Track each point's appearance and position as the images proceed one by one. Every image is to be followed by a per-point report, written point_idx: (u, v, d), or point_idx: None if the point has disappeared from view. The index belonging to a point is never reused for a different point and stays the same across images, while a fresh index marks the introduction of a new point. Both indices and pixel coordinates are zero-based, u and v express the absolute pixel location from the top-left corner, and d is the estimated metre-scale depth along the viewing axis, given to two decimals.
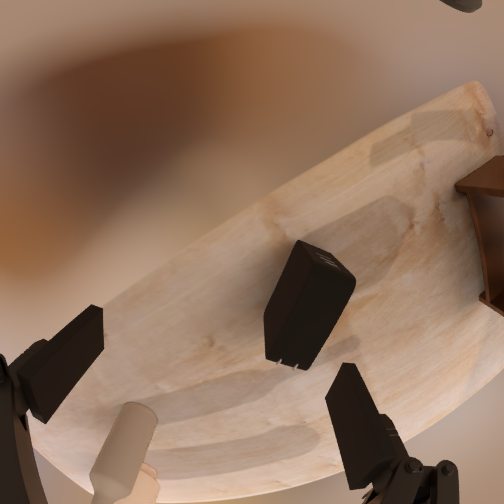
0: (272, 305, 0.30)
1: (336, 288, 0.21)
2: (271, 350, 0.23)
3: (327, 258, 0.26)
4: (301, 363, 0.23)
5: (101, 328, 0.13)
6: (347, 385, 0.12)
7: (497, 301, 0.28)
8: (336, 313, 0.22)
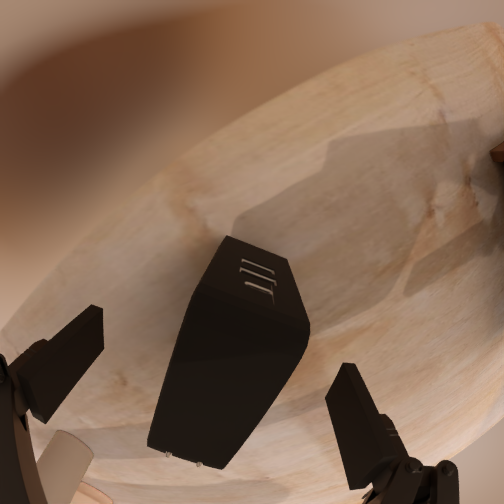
0: None
1: (256, 351, 0.09)
2: (148, 437, 0.10)
3: (262, 272, 0.13)
4: (207, 462, 0.10)
5: (101, 328, 0.13)
6: (347, 385, 0.12)
7: None
8: (262, 400, 0.09)
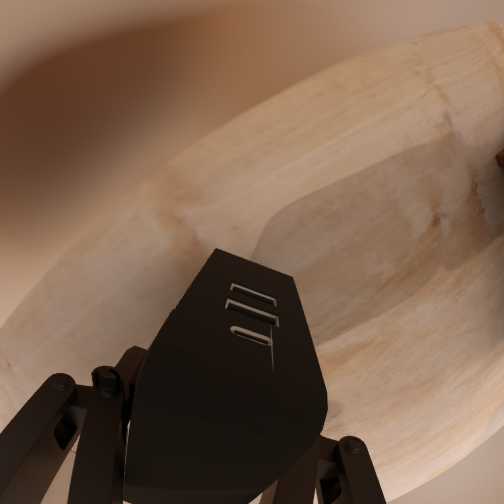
0: None
1: (244, 440, 0.05)
2: (123, 494, 0.07)
3: (259, 303, 0.09)
4: None
5: None
6: None
7: None
8: (255, 483, 0.05)
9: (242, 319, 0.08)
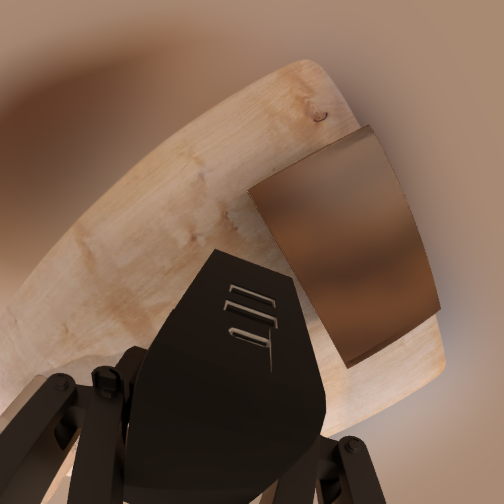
0: None
1: (242, 441, 0.05)
2: None
3: (258, 305, 0.09)
4: None
5: None
6: None
7: None
8: (254, 484, 0.05)
9: (241, 321, 0.08)
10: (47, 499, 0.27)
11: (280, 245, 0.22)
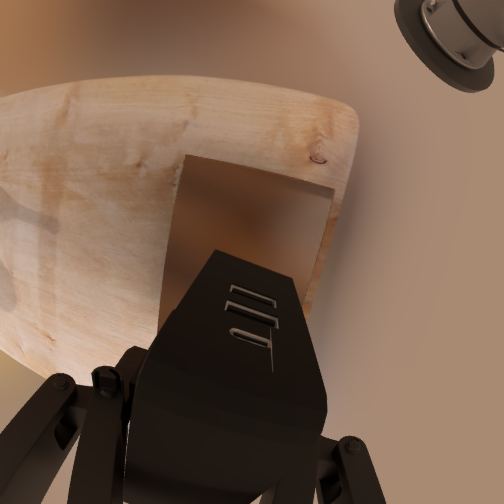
0: None
1: (244, 442, 0.05)
2: (123, 496, 0.07)
3: (259, 305, 0.09)
4: None
5: None
6: None
7: None
8: (255, 484, 0.05)
9: (242, 321, 0.08)
10: None
11: (173, 218, 0.21)
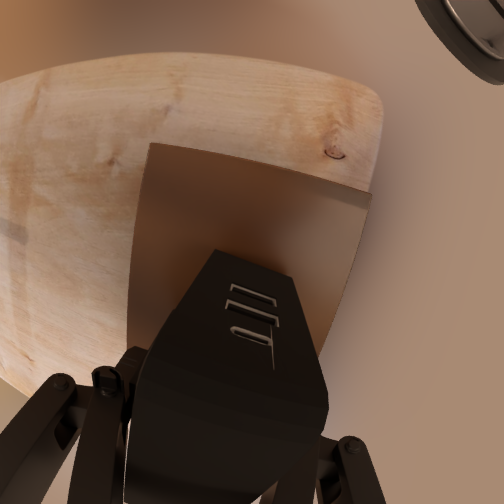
0: None
1: (244, 440, 0.05)
2: (124, 496, 0.07)
3: (259, 304, 0.09)
4: None
5: None
6: None
7: None
8: (257, 483, 0.05)
9: (242, 319, 0.08)
10: None
11: (135, 236, 0.14)
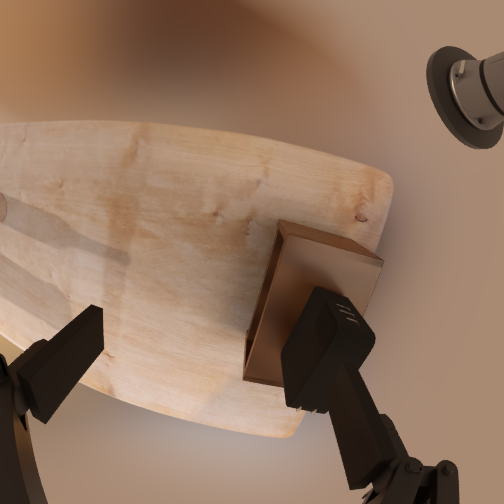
0: (290, 349, 0.29)
1: (357, 346, 0.21)
2: (292, 400, 0.23)
3: (347, 310, 0.25)
4: (319, 409, 0.23)
5: (101, 328, 0.13)
6: (347, 385, 0.12)
7: (252, 344, 0.41)
8: None
9: (347, 315, 0.24)
10: None
11: (275, 279, 0.30)
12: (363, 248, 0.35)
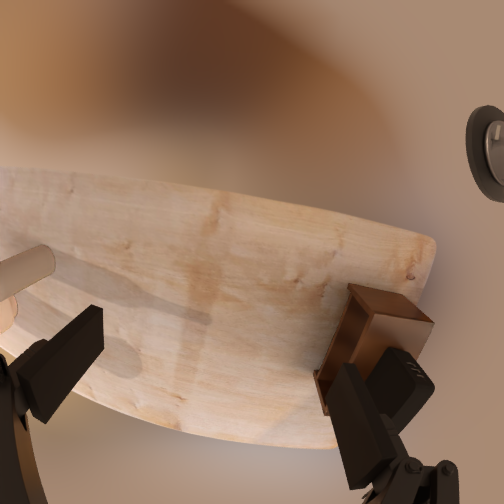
0: None
1: (424, 394, 0.26)
2: None
3: (414, 367, 0.30)
4: None
5: (101, 328, 0.13)
6: (347, 385, 0.12)
7: (323, 383, 0.46)
8: (420, 406, 0.27)
9: (416, 372, 0.29)
10: None
11: (361, 345, 0.35)
12: (416, 308, 0.40)
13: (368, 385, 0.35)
